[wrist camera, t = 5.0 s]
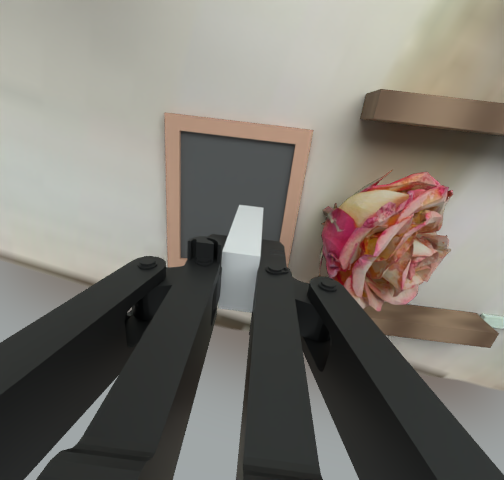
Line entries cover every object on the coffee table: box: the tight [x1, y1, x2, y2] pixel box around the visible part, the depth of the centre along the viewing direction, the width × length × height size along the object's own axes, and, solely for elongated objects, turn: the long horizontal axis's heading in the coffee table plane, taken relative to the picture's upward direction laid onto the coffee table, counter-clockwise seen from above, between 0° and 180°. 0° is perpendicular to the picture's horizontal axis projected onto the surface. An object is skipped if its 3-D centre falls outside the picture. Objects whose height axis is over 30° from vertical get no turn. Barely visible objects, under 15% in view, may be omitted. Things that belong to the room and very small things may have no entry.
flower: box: [319, 169, 453, 311], centre depth 18 cm, size 10×9×8 cm
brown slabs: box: [360, 89, 504, 348], centre depth 19 cm, size 14×17×2 cm
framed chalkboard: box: [165, 113, 313, 268], centre depth 20 cm, size 10×12×1 cm
